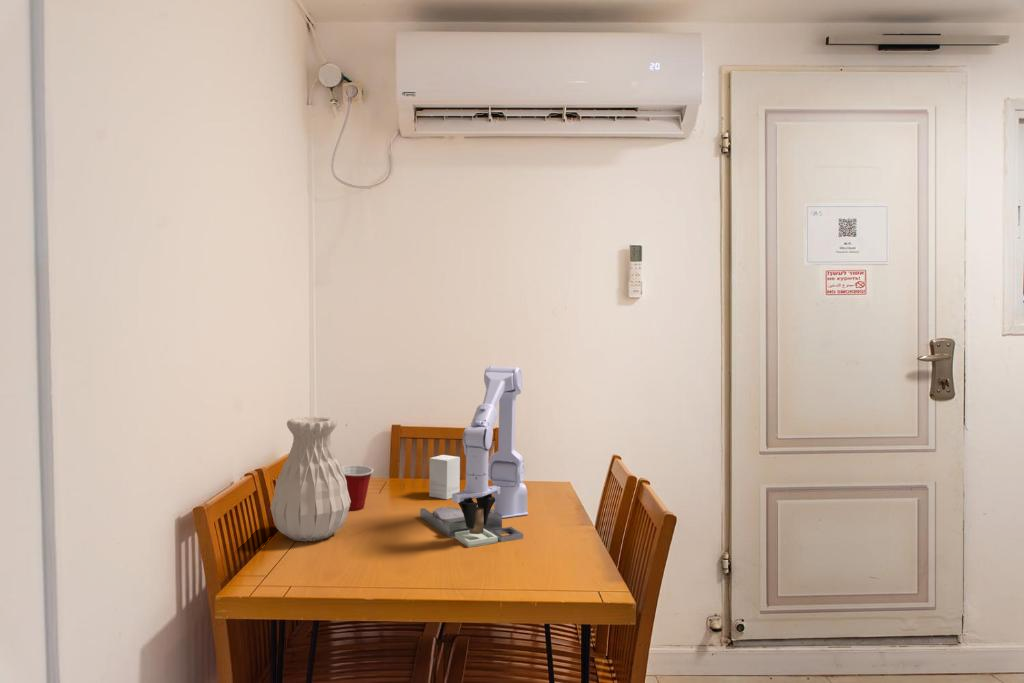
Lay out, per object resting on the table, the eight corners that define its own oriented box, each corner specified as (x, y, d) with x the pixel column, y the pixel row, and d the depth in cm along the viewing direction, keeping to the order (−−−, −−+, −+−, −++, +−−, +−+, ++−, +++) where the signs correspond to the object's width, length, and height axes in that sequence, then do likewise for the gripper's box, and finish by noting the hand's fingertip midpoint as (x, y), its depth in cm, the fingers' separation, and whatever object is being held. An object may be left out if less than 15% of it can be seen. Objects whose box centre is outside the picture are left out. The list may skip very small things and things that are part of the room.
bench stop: (468, 510, 196) (468, 497, 196) (501, 529, 178) (502, 515, 178) (420, 516, 189) (420, 503, 189) (449, 537, 170) (449, 522, 170)
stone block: (459, 523, 189) (427, 521, 184) (462, 507, 190) (431, 504, 185) (478, 537, 179) (445, 534, 174) (481, 519, 179) (449, 516, 174)
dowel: (482, 529, 170) (482, 506, 170) (484, 533, 167) (485, 510, 167) (468, 530, 170) (468, 507, 170) (470, 534, 166) (471, 510, 166)
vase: (365, 535, 171) (367, 420, 170) (293, 553, 157) (294, 428, 156) (326, 519, 185) (327, 412, 184) (256, 534, 171) (257, 418, 170)
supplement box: (460, 495, 214) (461, 456, 214) (446, 500, 208) (446, 460, 208) (442, 492, 218) (443, 454, 218) (428, 496, 212) (428, 457, 212)
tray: (483, 533, 174) (483, 528, 174) (497, 542, 167) (497, 536, 167) (454, 538, 170) (455, 532, 170) (468, 547, 163) (468, 541, 163)
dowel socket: (511, 531, 177) (511, 526, 177) (523, 538, 171) (523, 533, 171) (489, 534, 173) (489, 530, 173) (500, 541, 168) (501, 537, 168)
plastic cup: (351, 515, 189) (352, 474, 189) (328, 508, 196) (328, 468, 195) (380, 507, 198) (381, 468, 197) (357, 501, 204) (357, 463, 204)
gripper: (488, 467, 176) (487, 517, 176) (444, 474, 166) (444, 527, 166) (506, 471, 171) (505, 523, 171) (462, 479, 161) (461, 534, 161)
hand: (476, 526), depth 168 cm, fingers closed on dowel, 4 cm apart
